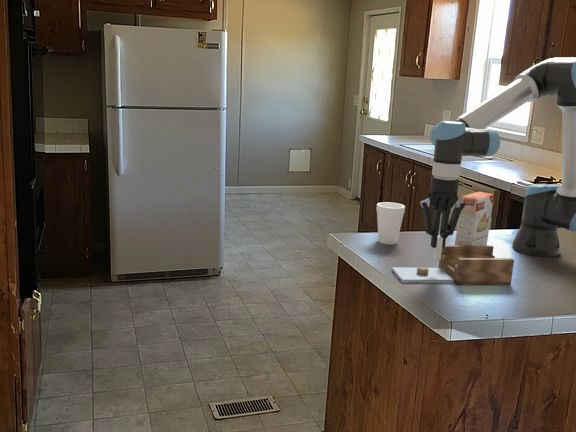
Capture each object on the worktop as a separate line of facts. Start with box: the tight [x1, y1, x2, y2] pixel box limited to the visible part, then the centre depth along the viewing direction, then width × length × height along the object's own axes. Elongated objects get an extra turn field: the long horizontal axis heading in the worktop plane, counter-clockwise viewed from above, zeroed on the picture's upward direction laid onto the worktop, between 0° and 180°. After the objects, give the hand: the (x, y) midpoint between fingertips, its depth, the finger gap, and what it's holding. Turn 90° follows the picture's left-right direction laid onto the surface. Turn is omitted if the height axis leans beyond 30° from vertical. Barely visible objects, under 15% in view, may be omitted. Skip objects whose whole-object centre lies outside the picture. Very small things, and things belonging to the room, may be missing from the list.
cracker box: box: [454, 191, 495, 246], centre depth 192 cm, size 14×6×21 cm, turn 141°
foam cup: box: [376, 201, 406, 245], centre depth 207 cm, size 10×9×13 cm
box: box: [438, 244, 515, 286], centre depth 175 cm, size 16×14×8 cm
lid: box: [391, 266, 455, 284], centre depth 173 cm, size 15×10×3 cm
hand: (436, 258), depth 173 cm, fingers closed
